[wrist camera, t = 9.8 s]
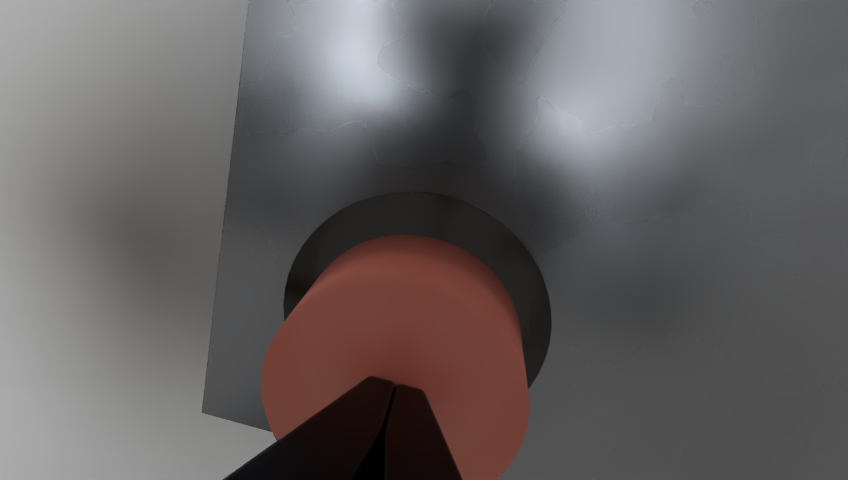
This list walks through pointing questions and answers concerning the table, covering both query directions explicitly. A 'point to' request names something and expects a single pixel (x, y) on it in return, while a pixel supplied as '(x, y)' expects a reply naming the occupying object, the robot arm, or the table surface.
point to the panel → (570, 211)
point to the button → (408, 345)
